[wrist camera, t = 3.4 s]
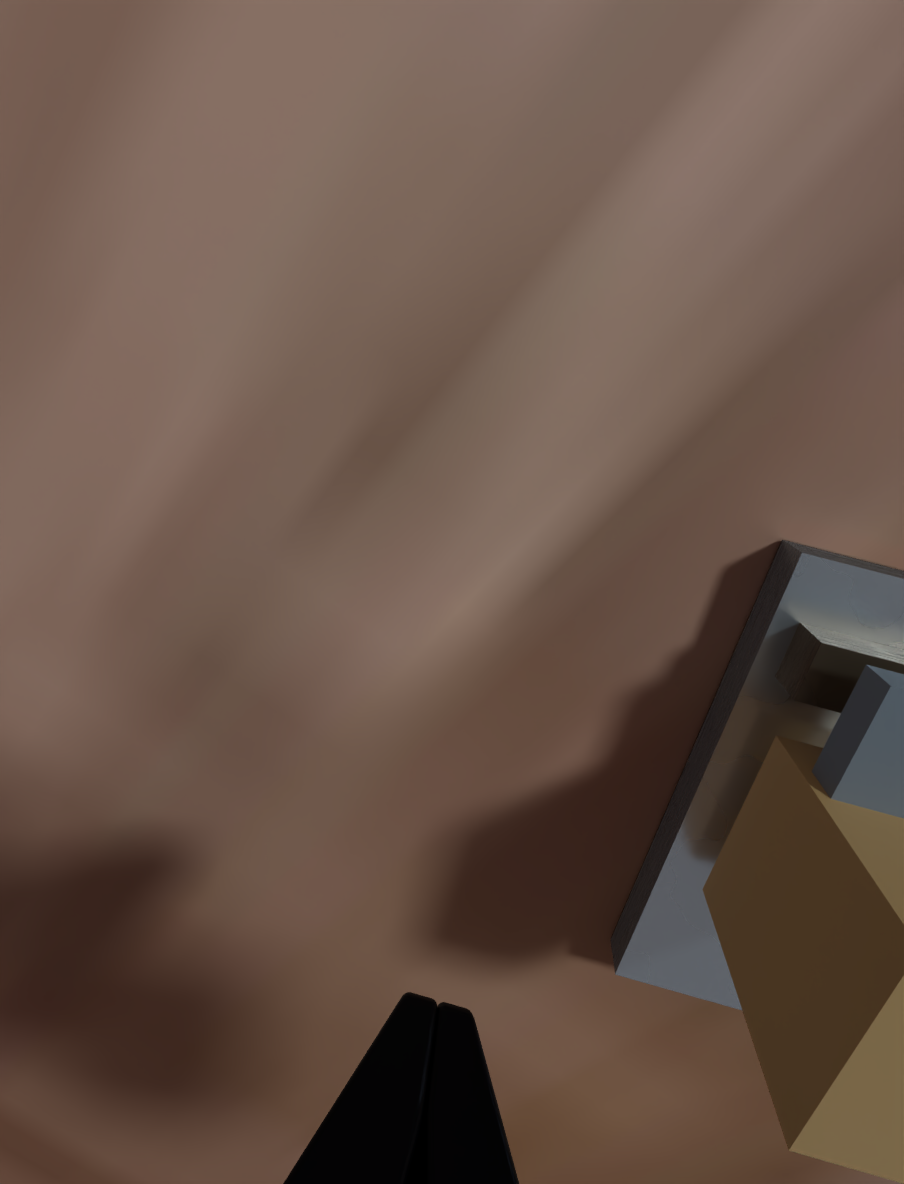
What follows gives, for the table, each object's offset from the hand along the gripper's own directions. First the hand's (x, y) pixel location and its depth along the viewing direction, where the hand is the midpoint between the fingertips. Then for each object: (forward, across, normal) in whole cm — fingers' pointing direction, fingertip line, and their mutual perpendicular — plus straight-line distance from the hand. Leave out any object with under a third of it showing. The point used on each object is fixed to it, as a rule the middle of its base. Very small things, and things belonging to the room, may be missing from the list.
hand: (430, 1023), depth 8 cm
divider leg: (+6, -7, -1) cm, 9 cm away
